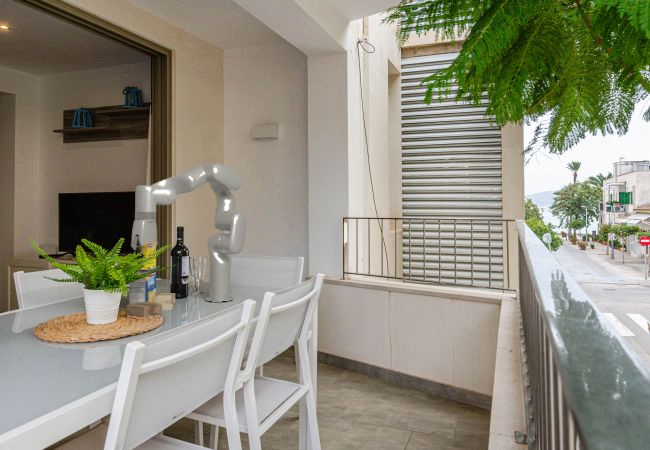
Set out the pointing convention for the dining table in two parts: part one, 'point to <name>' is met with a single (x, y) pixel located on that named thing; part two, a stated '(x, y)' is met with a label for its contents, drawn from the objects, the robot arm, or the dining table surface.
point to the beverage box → (143, 289)
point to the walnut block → (144, 309)
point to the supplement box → (148, 252)
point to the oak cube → (166, 300)
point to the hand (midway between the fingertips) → (144, 263)
